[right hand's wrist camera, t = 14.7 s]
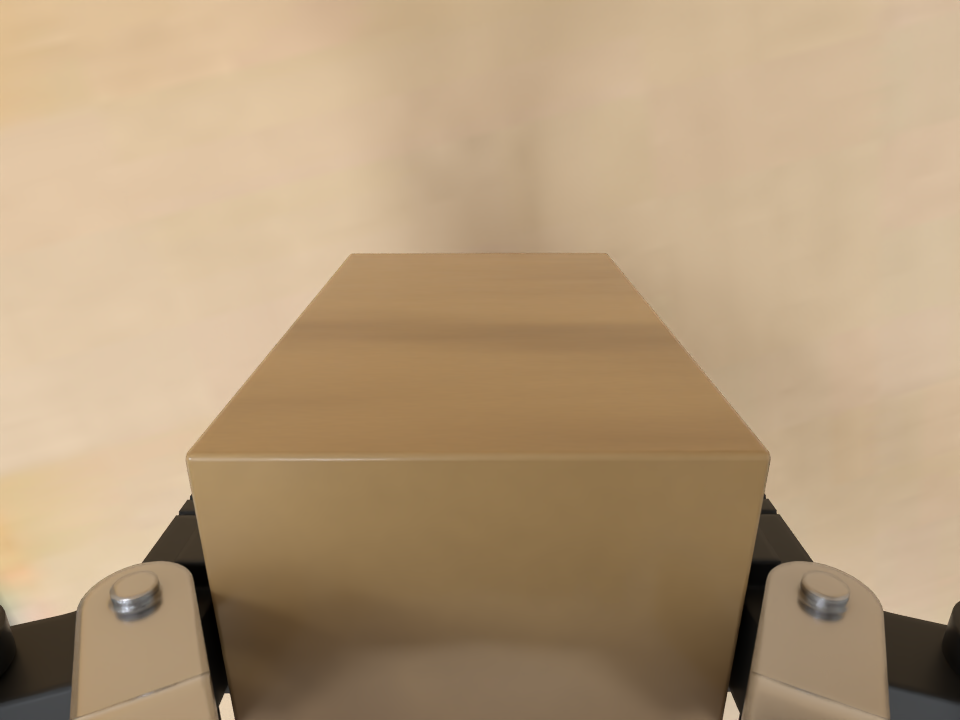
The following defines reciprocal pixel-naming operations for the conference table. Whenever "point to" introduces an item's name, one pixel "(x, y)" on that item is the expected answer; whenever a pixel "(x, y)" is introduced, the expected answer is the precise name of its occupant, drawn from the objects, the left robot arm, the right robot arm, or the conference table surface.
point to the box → (478, 502)
